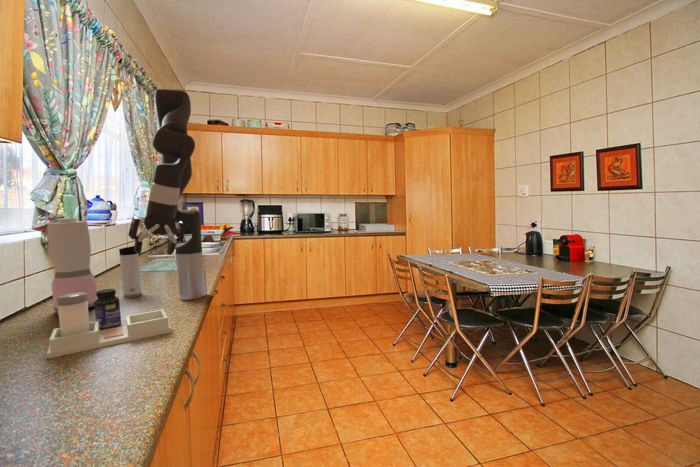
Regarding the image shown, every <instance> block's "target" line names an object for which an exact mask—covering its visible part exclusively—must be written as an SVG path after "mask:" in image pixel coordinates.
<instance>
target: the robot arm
mask: <svg viewBox="0 0 700 467" xmlns="http://www.w3.org/2000/svg"><path fill="white" fill-rule="evenodd" d="M153 95H154V97H153V98H154V107H155V113H156V120H157V123H158V124H157V125H158V129H157V131H155V133H154V135H153V138H152V147H153V148H154V150H155V151H156V152H157V153H158V154H161V157H162V163H158V164H157V165H156V166H155V170H154V175H153V180H152V185H151V187H150V192H149V195H148V196H149V197H148V203H147V209H146V214H145V217H144V218H140V217H138V216H133V217H132V219H131V224H130V228H129V231H128V237H130V239H131V240H134V245H133V246H134V251H135V252H136V253H137V254H138V255H141V254H142V249H143V242H144V240H145V239H146V238H147V237H149V236H150V235H154V236H155V235H160V236H167V238H168V240H169V241H168V244H167V250H166V254H167V255H168V256H170V255H171V256H172V254H173V253H175V261H176V262H175V263H176V273H177V276H176V277H177V287H178V298H179V300H182V301H183V300H184V301H187V300H188V301H189V300H196V299H200V298H204V297H205V296H206V295H207V294H208V288H207V287H208V286H207V276H206V275H207V274H206V270H205V269H204V259H203V246H202V243H203V242H202V219H201V214H200V212H199V210H196V209H182V210H179V202H180V199H181V197H182V194H183V193H184V191H185V189H186V188H187V186H188V184H189V182H190V181H191V178H192V177H193V176H192V175H193V169H192V159H191V158H192V156H193V153H194V151H195V149H196V142H195V140H194V138H193V137H192V135H188V122H189V120H190V118H191V112H192V108H191V107H192V105H191V99H190V96H189V93H187V92H186V91H184V90H179V89H166V88H157V89H155V91H154V94H153ZM142 224H144V227H143V228H142V229H141V230H140V231H139V233H138V230H139V227H140V226H142ZM189 235H191V238H189V239H188V240H186V241H185V242H183V241H184V238H185V237H184V236H189ZM179 242H181V243H179ZM182 242H183V243H182ZM177 243H179V244H178V245H176V244H177Z"/></svg>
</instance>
